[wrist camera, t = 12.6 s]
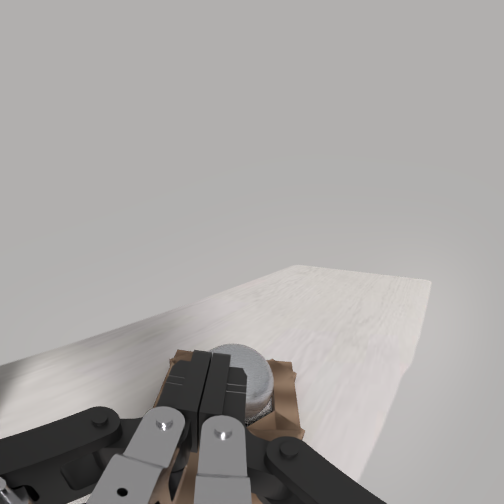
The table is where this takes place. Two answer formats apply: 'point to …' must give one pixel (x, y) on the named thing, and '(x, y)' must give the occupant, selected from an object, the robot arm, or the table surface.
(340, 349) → the table surface
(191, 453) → the wooden board
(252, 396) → the steel ball
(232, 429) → the robot arm
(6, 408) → the table surface
